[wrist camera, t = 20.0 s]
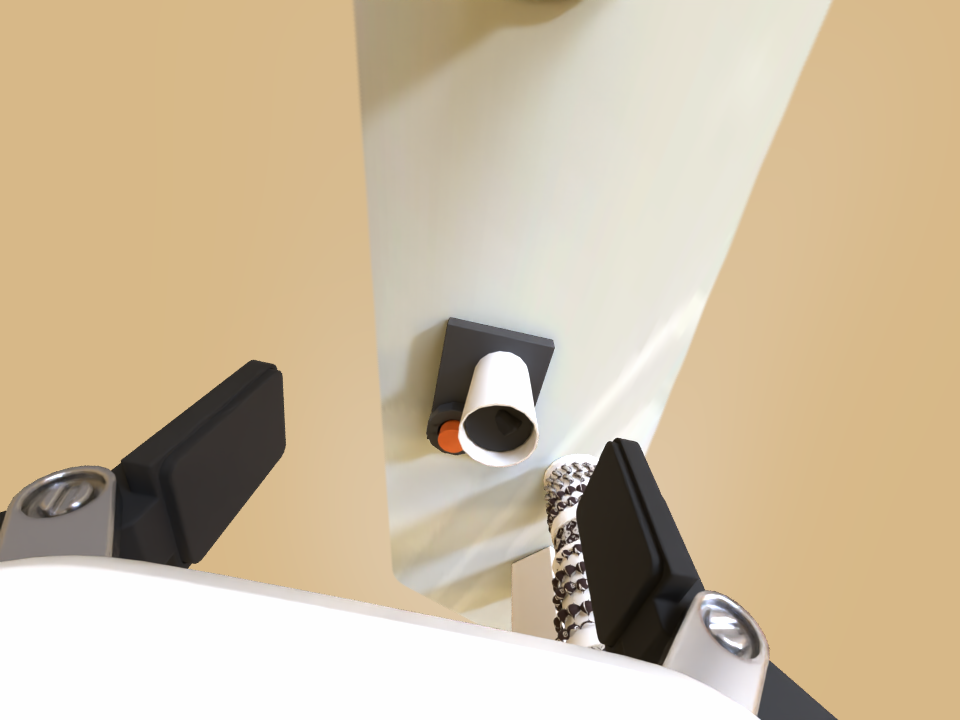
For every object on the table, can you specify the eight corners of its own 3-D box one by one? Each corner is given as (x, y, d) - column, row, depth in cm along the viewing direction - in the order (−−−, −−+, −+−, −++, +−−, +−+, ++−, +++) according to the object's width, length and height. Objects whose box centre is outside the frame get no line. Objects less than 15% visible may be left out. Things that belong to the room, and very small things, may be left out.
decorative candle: (555, 443, 46) (594, 702, 24) (627, 462, 47) (729, 733, 25) (530, 494, 50) (544, 755, 28) (596, 511, 51) (660, 780, 29)
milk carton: (539, 586, 59) (550, 754, 43) (511, 562, 57) (510, 729, 40) (578, 570, 57) (606, 742, 40) (549, 544, 55) (566, 714, 38)
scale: (449, 316, 40) (444, 330, 37) (553, 339, 40) (556, 354, 37) (429, 429, 47) (423, 448, 44) (517, 448, 47) (517, 468, 44)
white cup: (498, 334, 38) (493, 387, 29) (546, 374, 40) (556, 435, 31) (456, 377, 41) (441, 437, 32) (503, 412, 42) (501, 479, 34)
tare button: (442, 416, 42) (440, 426, 40) (471, 423, 42) (469, 433, 40) (438, 439, 43) (435, 449, 42) (466, 445, 43) (464, 455, 42)
